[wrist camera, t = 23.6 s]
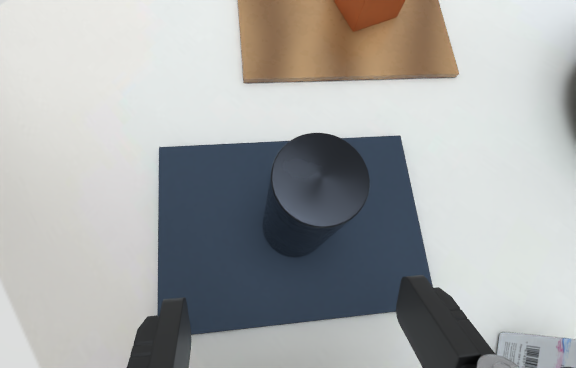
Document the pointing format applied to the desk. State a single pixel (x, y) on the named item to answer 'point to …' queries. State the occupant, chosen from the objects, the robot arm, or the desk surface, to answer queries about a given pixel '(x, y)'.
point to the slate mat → (261, 256)
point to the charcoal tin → (313, 192)
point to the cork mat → (341, 43)
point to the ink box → (537, 350)
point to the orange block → (368, 11)
